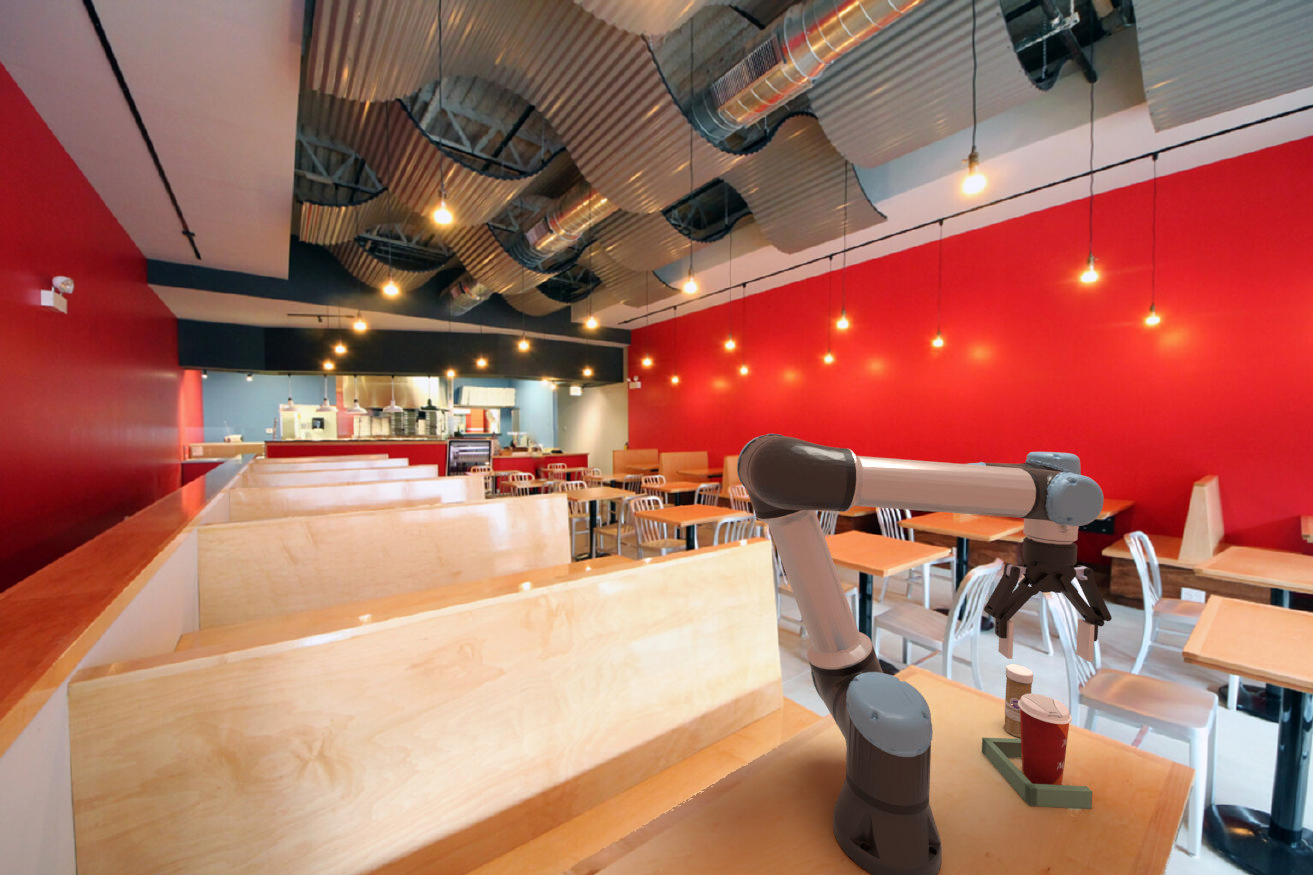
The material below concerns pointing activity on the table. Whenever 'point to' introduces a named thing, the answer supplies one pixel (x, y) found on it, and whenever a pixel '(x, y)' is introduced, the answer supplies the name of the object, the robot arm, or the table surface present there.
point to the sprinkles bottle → (1016, 696)
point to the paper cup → (1043, 738)
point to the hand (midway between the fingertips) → (1044, 656)
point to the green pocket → (1031, 793)
